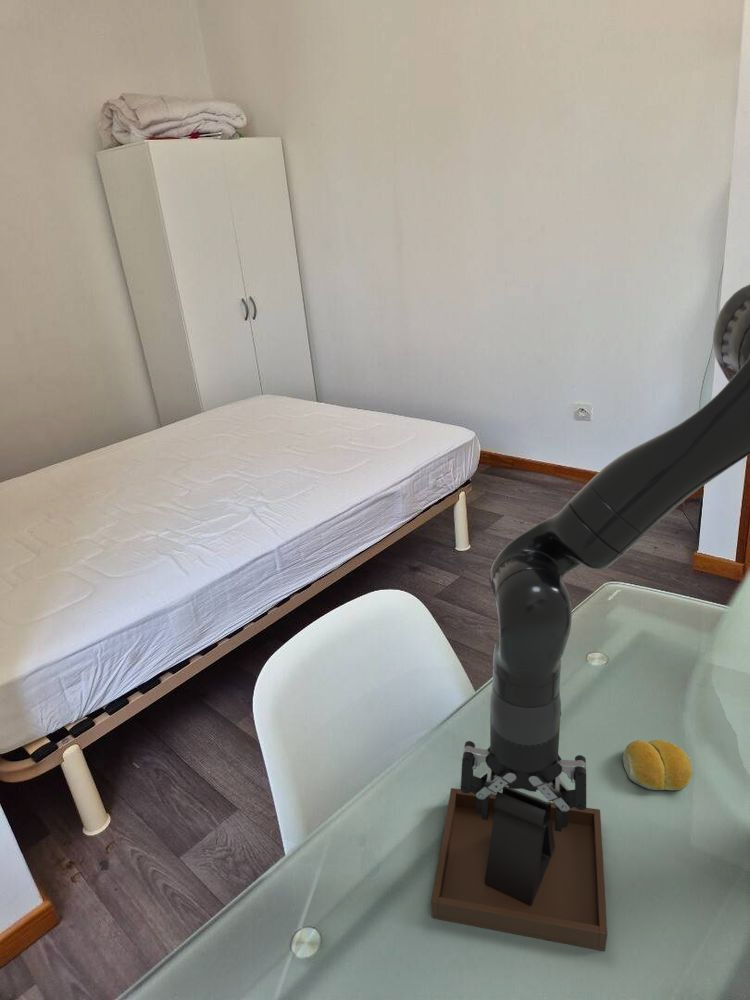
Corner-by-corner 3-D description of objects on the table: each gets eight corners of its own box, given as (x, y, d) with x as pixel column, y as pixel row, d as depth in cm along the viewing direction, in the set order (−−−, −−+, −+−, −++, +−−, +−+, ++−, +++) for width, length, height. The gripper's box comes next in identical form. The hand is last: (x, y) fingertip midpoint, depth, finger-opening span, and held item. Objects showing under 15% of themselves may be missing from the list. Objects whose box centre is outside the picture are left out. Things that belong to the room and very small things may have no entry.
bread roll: (699, 793, 95) (703, 772, 93) (632, 793, 95) (635, 773, 94) (678, 748, 102) (682, 727, 100) (617, 748, 103) (619, 728, 101)
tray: (598, 825, 91) (600, 809, 90) (605, 951, 77) (607, 934, 75) (451, 803, 96) (451, 787, 95) (432, 918, 82) (431, 901, 80)
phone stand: (531, 907, 81) (533, 838, 76) (483, 884, 84) (483, 816, 79) (555, 847, 88) (559, 780, 83) (511, 828, 91) (512, 762, 86)
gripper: (455, 734, 74) (458, 837, 81) (593, 751, 70) (584, 857, 78) (464, 687, 80) (466, 786, 87) (591, 700, 77) (582, 802, 84)
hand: (521, 819), depth 82 cm, fingers open, 8 cm apart
